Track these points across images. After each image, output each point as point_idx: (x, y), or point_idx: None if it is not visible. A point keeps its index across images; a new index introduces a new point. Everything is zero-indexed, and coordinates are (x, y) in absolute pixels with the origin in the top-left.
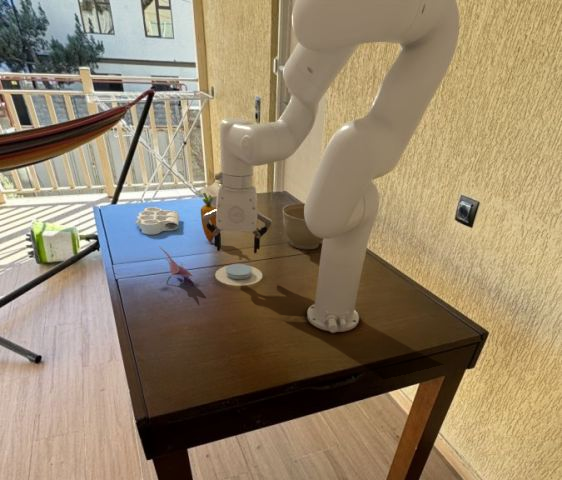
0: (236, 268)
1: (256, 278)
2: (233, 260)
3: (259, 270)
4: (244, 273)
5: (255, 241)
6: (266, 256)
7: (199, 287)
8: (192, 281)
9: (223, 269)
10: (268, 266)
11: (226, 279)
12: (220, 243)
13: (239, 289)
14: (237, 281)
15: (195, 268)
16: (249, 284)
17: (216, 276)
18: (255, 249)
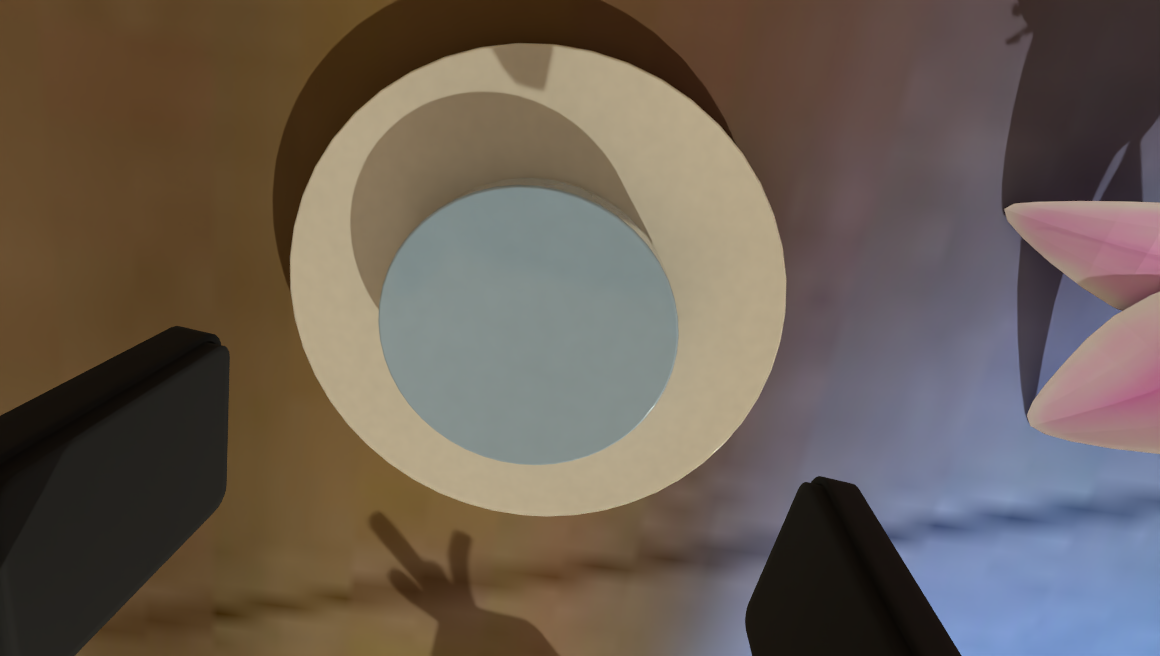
0: (551, 359)
1: (356, 200)
2: (540, 624)
3: (316, 375)
4: (475, 221)
5: (5, 442)
6: (259, 650)
7: (977, 167)
8: (1078, 206)
9: (671, 441)
10: (245, 491)
11: (685, 222)
12: (785, 629)
13: None
14: (573, 155)
15: (895, 540)
16: (446, 59)
17: (776, 305)
18: (152, 356)
